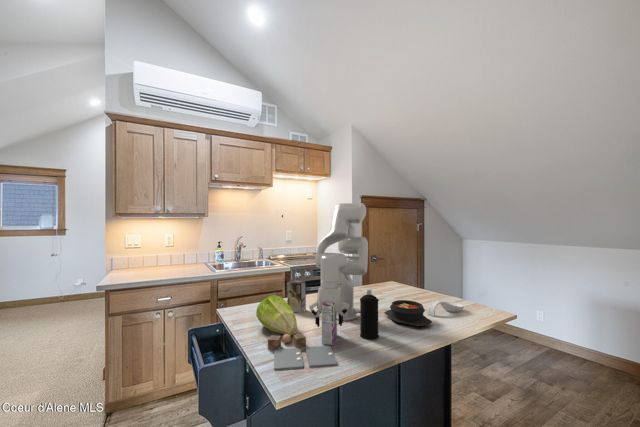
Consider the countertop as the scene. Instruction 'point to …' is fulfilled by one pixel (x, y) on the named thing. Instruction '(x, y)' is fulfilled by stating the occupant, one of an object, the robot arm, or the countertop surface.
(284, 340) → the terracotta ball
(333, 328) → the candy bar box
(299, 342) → the walnut cube
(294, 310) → the coffee box
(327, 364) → the pad one
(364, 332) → the aerosol can
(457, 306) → the white slipper
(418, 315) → the casserole
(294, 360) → the pad two
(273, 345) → the walnut cube
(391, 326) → the countertop surface
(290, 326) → the lettuce
